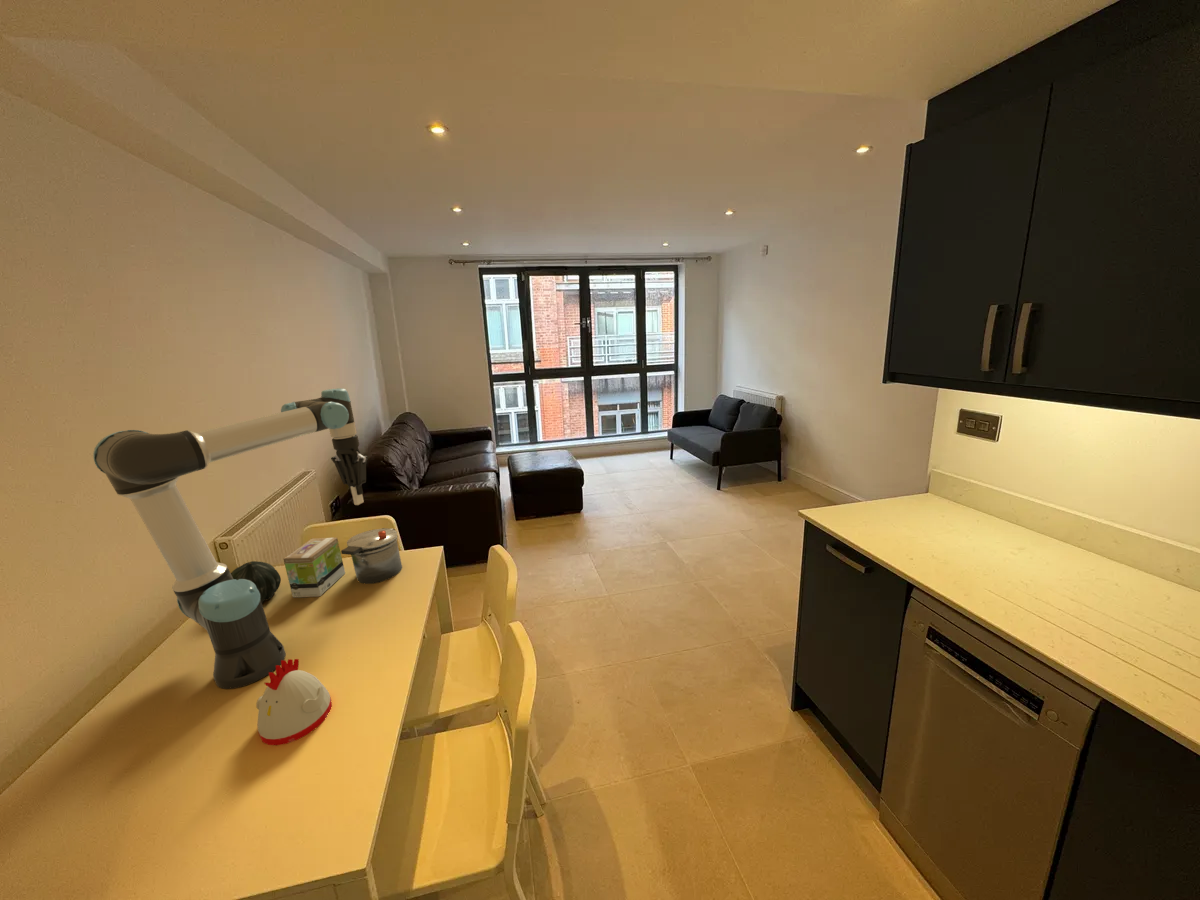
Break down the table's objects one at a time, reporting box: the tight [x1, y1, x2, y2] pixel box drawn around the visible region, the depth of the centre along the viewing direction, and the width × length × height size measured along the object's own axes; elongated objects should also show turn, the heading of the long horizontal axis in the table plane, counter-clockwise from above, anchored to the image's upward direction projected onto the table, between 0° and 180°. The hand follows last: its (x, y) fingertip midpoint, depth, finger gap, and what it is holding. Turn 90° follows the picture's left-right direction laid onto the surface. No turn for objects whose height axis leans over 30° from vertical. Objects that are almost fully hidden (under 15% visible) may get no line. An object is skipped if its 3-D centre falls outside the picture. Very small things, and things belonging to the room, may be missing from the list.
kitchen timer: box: [256, 658, 333, 746], centre depth 102 cm, size 14×14×15 cm
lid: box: [340, 527, 398, 556], centre depth 161 cm, size 20×16×4 cm
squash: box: [230, 560, 282, 603], centre depth 152 cm, size 14×15×15 cm
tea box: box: [283, 537, 346, 598], centre depth 158 cm, size 15×10×15 cm, turn 179°
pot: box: [351, 530, 403, 585], centre depth 165 cm, size 17×16×12 cm
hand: (359, 503), depth 156 cm, fingers closed
